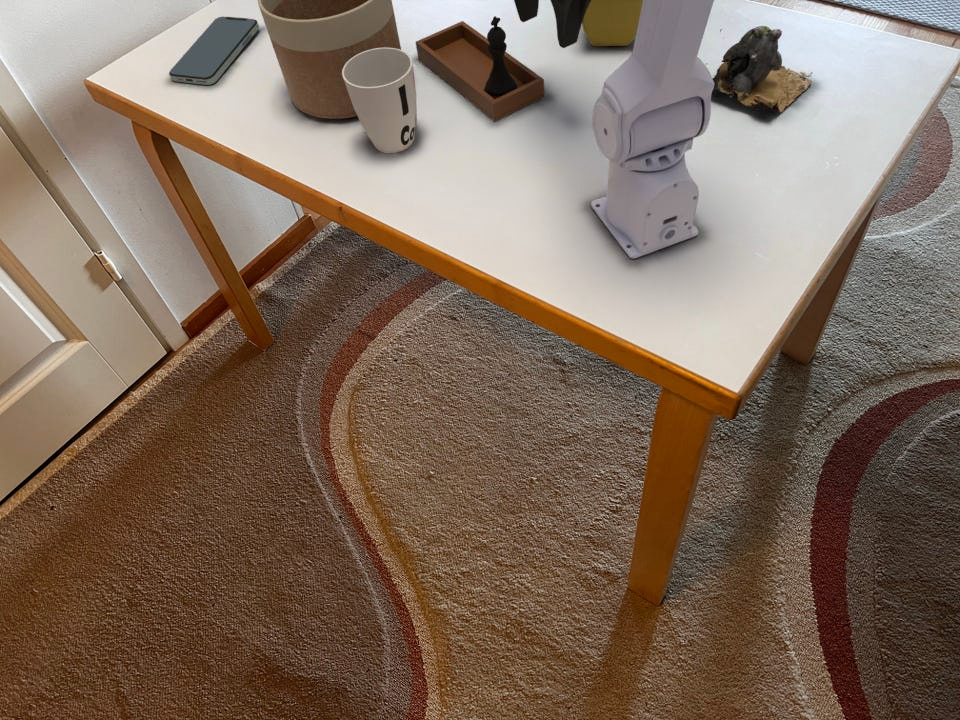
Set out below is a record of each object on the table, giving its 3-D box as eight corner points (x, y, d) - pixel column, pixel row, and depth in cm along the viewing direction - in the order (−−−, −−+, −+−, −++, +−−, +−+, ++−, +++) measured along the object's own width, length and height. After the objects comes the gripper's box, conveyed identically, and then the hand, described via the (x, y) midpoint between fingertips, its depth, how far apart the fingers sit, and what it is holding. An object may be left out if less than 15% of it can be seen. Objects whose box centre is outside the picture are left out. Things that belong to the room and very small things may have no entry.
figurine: (813, 84, 88) (841, 18, 79) (765, 134, 86) (788, 73, 77) (744, 48, 92) (763, -20, 83) (696, 95, 90) (711, 32, 81)
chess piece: (524, 88, 93) (521, 12, 84) (503, 105, 91) (497, 30, 83) (498, 78, 94) (492, 3, 86) (476, 95, 93) (468, 20, 85)
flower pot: (581, 20, 102) (582, -46, 95) (643, 19, 101) (649, -48, 93) (577, 55, 97) (578, -12, 90) (643, 54, 96) (649, -14, 88)
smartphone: (164, 73, 102) (216, 14, 109) (170, 84, 103) (221, 25, 111) (210, 78, 100) (259, 18, 107) (215, 89, 101) (263, 28, 109)
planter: (418, 55, 101) (400, -47, 90) (390, 125, 92) (367, 21, 80) (312, 54, 103) (282, -45, 92) (275, 122, 94) (237, 20, 83)
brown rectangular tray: (544, 97, 92) (544, 79, 90) (494, 122, 90) (493, 104, 88) (464, 38, 102) (462, 20, 100) (418, 59, 100) (415, 41, 98)
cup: (416, 162, 87) (401, 89, 79) (353, 159, 88) (332, 86, 80) (432, 121, 91) (419, 48, 83) (372, 119, 93) (354, 46, 85)
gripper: (473, -106, 75) (484, 19, 86) (557, -62, 68) (559, 70, 79) (527, -127, 77) (532, -2, 88) (615, -86, 70) (608, 45, 80)
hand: (548, 30), depth 84 cm, fingers open, 7 cm apart
